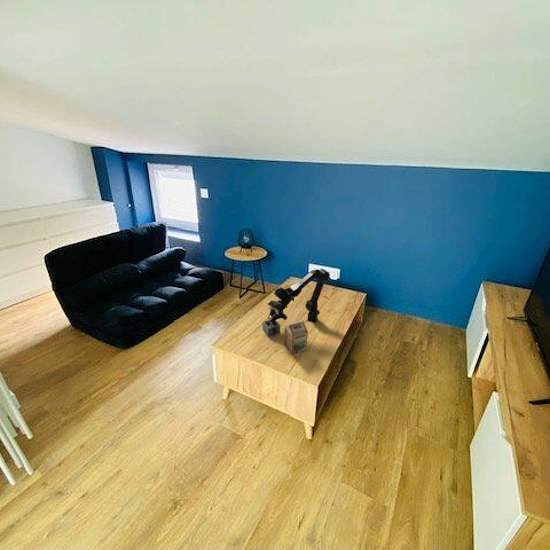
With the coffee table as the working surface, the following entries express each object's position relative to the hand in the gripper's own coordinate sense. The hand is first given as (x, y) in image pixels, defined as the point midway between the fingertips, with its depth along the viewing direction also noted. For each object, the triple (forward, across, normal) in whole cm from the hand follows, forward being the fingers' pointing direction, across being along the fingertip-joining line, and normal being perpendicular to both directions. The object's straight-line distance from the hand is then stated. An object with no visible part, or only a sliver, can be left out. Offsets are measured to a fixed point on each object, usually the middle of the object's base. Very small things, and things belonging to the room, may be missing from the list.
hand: (269, 320), depth 198 cm
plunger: (+4, 0, +6) cm, 7 cm away
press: (+6, +1, +8) cm, 10 cm away
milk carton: (+2, +22, +12) cm, 26 cm away
